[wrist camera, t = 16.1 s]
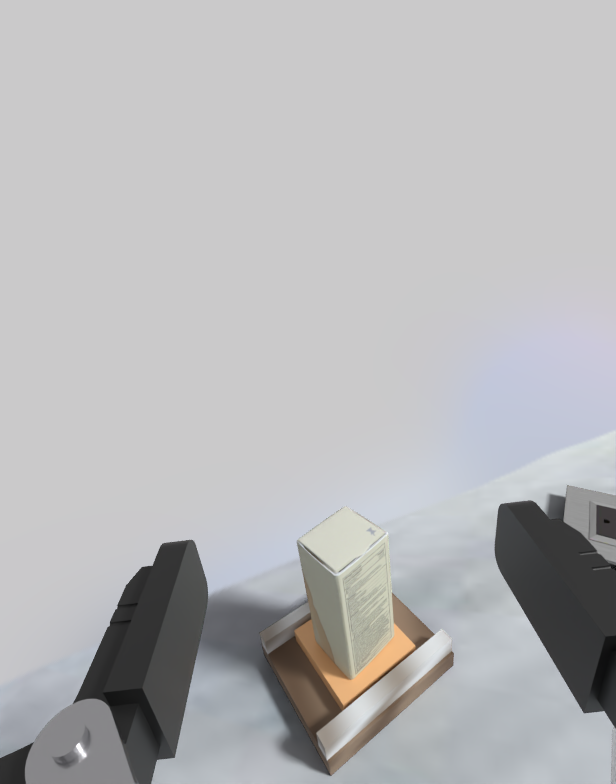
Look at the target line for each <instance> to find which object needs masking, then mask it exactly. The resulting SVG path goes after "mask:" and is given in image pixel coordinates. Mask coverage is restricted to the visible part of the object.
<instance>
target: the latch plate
mask: <svg viewBox="0 0 616 784" xmlns="http://www.w3.org/2000/svg"><path fill="white" fill-rule="evenodd" d="M294 632H295V637H296V641H297V642H298V644H299V645H300V647H301V649H302V650H303V652H304V653H305V655H306V656H307V658H308V659H309V661H310V662H311V664H312V665H313V667H314V669H315V670H316V672H317V673H318V675H319V676H320V678H321V679H322V681H323V682H324V684H325V685H326V687H327V689H328V690H329V692H330V693H331V695H332V696H333V698H334V699H335V701H336V702H337V704H338V706H339V707H340V709H341V710H342V711H343V710H345V709H346V708H347V707H348V706H349V705H351V704H352V703H353V702H354V701H355V700H357V699H358V698H359V697H360V696H361V695H363V694H364V693H365V692H366V691H367V690H369V689H370V688H371V687H372V686H374V685H375V684H376V683H377V682H378V681H380V680H381V679H382V678H383V677H384V676H386V675H387V674H388V673H389V672H390V671H392V670H393V669H394V668H395V667H396V666H398V665H399V664H400V663H401V662H402V661H404V660H405V659H406V658H407V657H408V656H410V655H411V654H412V653H413V652H414V651H416V648H415V645H414V644H413V642H412V641H411V640H410V639H409V638H408V637H407V636H406V635H405V634H404V633H403V632H402V631H401V630H400V629H399V628H398V627H397V625H396V624H395V623H394V637H393V638H392V639H391V640H390V641H389V642H388V644H387V645H386V646H385V647H384V648H383V649H382V650H381V651H380V652H379V653H378V655H377V656H376V657H375V658H374V659H373V660H372V661H371V662H370V663H369V664H368V665H367V666H366V667H365V668H364V669H363V670H362V671H361V672H360V673H359V674H358V675H357V676H356V677H355V678H354V679H352V680H350V679H349V678H348V677H347V676H346V675H345V674H344V673H343V672H342V671H341V670H340V669H339V668H338V666H337V665H336V664H335V663H334V662H333V661H332V660H331V659H330V657H329V656H328V655H327V654H326V653H325V652H324V650H323V649H322V648H321V647H320V646H319V644H318V643H317V642H316V640H315V635H314V630H313V624H312V619H311V620H309V621H308V622H306V623H305V624H303V625H302V626H300V627H299V628H297V629H296V630H294Z"/></svg>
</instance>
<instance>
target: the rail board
mask: <svg viewBox="0 0 616 784" xmlns="http://www.w3.org/2000/svg"><path fill="white" fill-rule="evenodd" d="M392 605H393V620H394V623H395V624H396V625H397V627H398V628H399V629H400V630H401V631H402V632H403V633H404V634H405V635H406V636H407V637H408V638H409V639H410V640H411V641H412V642H413V644H414V645H415V648H416V651H414V652H413V653H412V654H411V655H410V656H408V657H407V658H406V659H405V660H404V661H402V662H401V663H400V664H399V665H398V666H396V667H395V668H394V669H393V670H392V671H390V672H389V673H388V674H387V675H386V676H384V677H383V678H382V679H381V680H380V681H378V682H377V683H376V684H375V685H374V686H372V687H371V688H370V689H369V690H367V691H366V692H365V693H364V694H363V695H361V696H360V697H359V698H358V699H357V700H355V701H354V702H353V703H352V704H351V705H349V706H348V707H347V708H346V709H345V710H343V711H342V710H341V709H340V707H339V706H338V704H337V702H336V701H335V699H334V698H333V696H332V695H331V693H330V692H329V690H328V689H327V687H326V685H325V684H324V682H323V681H322V679H321V678H320V676H319V675H318V673H317V672H316V670H315V669H314V667H313V665H312V664H311V662H310V661H309V659H308V658H307V656H306V655H305V653H304V652H303V650H302V649H301V647H300V645H299V644H298V642H297V641H296V637H295V632H294V630H296V629H297V628H299V627H300V626H302V625H303V624H305V623H306V622H308V621H309V620H311V614H310V608H309V603H308V602H307V603H305V604H303V605H302V606H300V607H299V608H297V609H296V610H294V611H293V612H291V613H289V614H288V615H286V616H285V617H283V618H282V619H280V620H279V621H277V622H276V623H274V624H272V625H271V626H269V627H268V628H266V629H265V630H263V631H262V632H260V637H261V641H262V647H263V651H264V655H265V657H266V658H267V660H268V662H269V664H270V666H271V667H272V669H273V671H274V673H275V675H276V677H277V678H278V680H279V682H280V684H281V686H282V688H283V689H284V691H285V693H286V695H287V697H288V698H289V700H290V702H291V704H292V706H293V708H294V709H295V711H296V713H297V715H298V717H299V719H300V720H301V722H302V724H303V726H304V728H305V729H306V731H307V733H308V735H309V737H310V739H311V740H312V742H313V744H314V746H315V748H316V749H317V751H318V753H319V755H320V757H321V759H322V760H323V762H324V764H325V766H326V768H327V770H328V771H329V773H330V775H332V774H334V773H335V772H336V771H337V770H338V769H339V768H340V767H341V766H342V765H344V764H345V763H346V762H347V761H348V760H349V759H350V758H351V757H352V756H353V755H355V754H356V753H357V752H358V751H359V750H360V749H361V748H362V747H363V746H364V745H366V744H367V743H368V742H369V741H370V740H371V739H372V738H373V737H374V736H376V735H377V734H378V733H379V732H380V731H381V730H382V729H383V728H384V727H385V726H387V725H388V724H389V723H390V722H391V721H392V720H393V719H394V718H395V717H397V716H398V715H399V714H400V713H401V712H402V711H403V710H404V709H405V708H406V707H408V706H409V705H410V704H411V703H412V702H413V701H414V700H415V699H416V698H417V697H419V696H420V695H421V694H422V693H423V692H424V691H425V690H426V689H427V688H429V687H430V686H431V685H432V684H433V683H434V682H435V681H436V680H437V679H438V678H440V677H441V676H442V675H443V674H444V673H445V672H446V671H447V670H448V669H450V668H451V667H452V666H453V657H454V653H453V652H452V638H451V637H450V636H449V635H448V634H447V633H446V632H445V631H444V630H443V629H441V630H440V631H439V632H437V633H436V634H434V633H433V632H432V631H431V630H430V629H429V628H428V627H427V626H426V625H425V624H423V623H422V622H421V621H420V620H419V619H418V618H417V617H416V616H415V615H414V614H413V613H412V612H411V611H410V610H409V609H408V608H407V607H406V606H405V605H404V604H403V603H402V602H401V601H400V600H399V599H398V598H397V597H396V596H395V595H394V594H393V593H392Z"/></svg>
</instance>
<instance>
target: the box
mask: <svg viewBox="0 0 616 784" xmlns="http://www.w3.org/2000/svg"><path fill="white" fill-rule="evenodd" d="M297 545H298V551H299V556H300V561H301V566H302V571H303V577H304V582H305V588H306V593H307V598H308V603H309V608H310V614H311V619H312V624H313V630H314V635H315V640H316V642H317V643H318V644H319V646H320V647H321V648H322V649H323V650H324V652H325V653H326V654H327V655H328V656H329V657H330V659H331V660H332V661H333V662H334V663H335V664H336V665H337V666H338V668H339V669H340V670H341V671H342V672H343V673H344V674H345V675H346V676H347V677H348V678H349V679H350V680H352V679H354V678H355V677H356V676H357V675H358V674H359V673H360V672H361V671H362V670H363V669H364V668H365V667H366V666H367V665H368V664H369V663H370V662H371V661H372V660H373V659H374V658H375V657H376V656H377V655H378V653H379V652H380V651H381V650H382V649H383V648H384V647H385V646H386V645H387V644H388V642H389V641H390V640H391V639H392V638H393V637H394V620H393V605H392V589H391V572H390V557H389V541H388V533H387V532H386V531H384V530H383V529H381V528H380V527H378V526H377V525H375V524H374V523H372V522H371V521H369V520H368V519H366V518H364V517H363V516H361V515H360V514H358V513H357V512H355V511H353V510H352V509H350V508H349V507H347V506H345V507H343V508H341V509H340V510H338V511H337V512H336V513H334V514H333V515H331V516H330V517H328V518H327V519H326V520H324V521H323V522H321V523H320V524H319V525H317V526H316V527H314V528H313V529H312V530H310V531H309V532H308V533H306V534H305V535H304V536H302V537H301V538H299V539H298V540H297Z"/></svg>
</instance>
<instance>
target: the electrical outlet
mask: <svg viewBox="0 0 616 784" xmlns="http://www.w3.org/2000/svg"><path fill="white" fill-rule="evenodd" d="M563 522H565V523H566V524H568V525H570V526H571V527H573V528H574V529H576V530H577V531H579V532H581V533H582V534H583V536H584V537H585V538H586V539H587V540H588V541H589V542H590V543H591V544H592V545H593V546H594V548H595V549H596V550H597V553H598V554H601V555H602V556H603V557H604V558H605V560H606V561H607V562H608V563H609V564H610V565H614V566H616V496H615V495H610V494H606V493H601V492H597V491H592V490H587V489H583V488H578V487H573V486H569V485H567V491H566V500H565V510H564V520H563Z"/></svg>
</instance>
